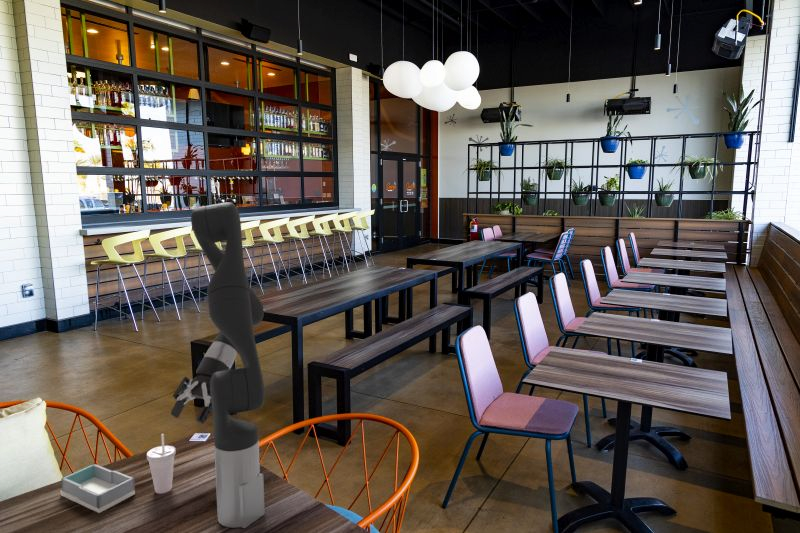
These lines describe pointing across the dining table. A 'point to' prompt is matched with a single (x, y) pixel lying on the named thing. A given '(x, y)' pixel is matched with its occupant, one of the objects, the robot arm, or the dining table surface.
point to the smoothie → (162, 466)
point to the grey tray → (97, 487)
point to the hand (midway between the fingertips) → (186, 419)
